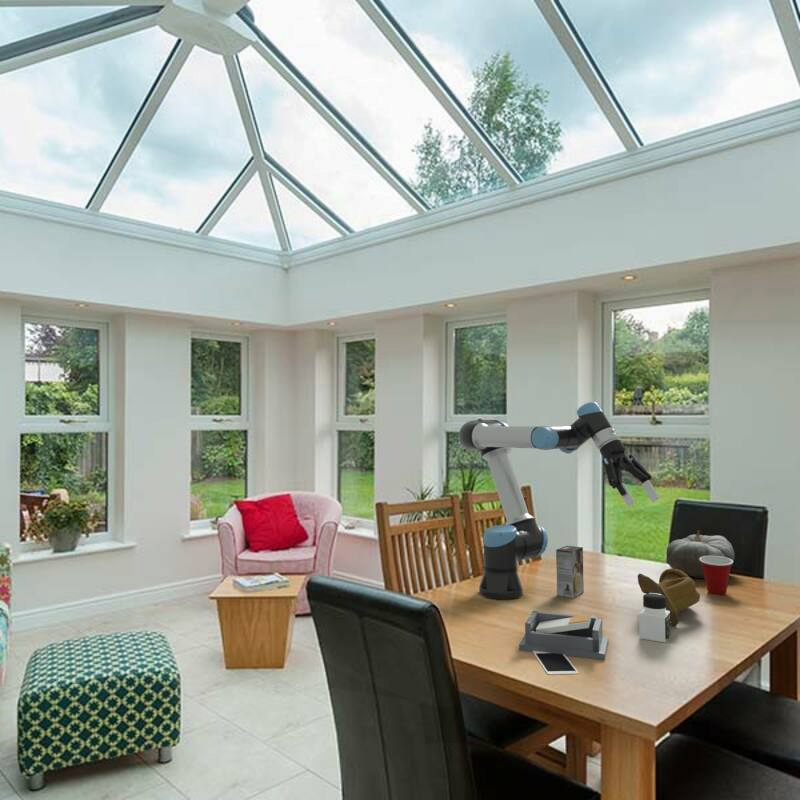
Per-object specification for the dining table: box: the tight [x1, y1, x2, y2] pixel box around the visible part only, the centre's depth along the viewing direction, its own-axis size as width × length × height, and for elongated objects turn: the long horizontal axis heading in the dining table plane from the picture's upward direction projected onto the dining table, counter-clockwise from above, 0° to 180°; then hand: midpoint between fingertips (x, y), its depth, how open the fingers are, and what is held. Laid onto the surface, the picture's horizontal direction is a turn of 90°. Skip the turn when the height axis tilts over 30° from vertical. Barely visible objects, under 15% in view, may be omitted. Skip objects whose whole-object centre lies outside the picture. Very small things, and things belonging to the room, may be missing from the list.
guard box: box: [518, 610, 609, 661], centre depth 182 cm, size 22×14×7 cm, turn 69°
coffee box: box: [555, 545, 584, 599], centre depth 235 cm, size 9×6×16 cm
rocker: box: [536, 614, 591, 633], centre depth 182 cm, size 14×7×2 cm, turn 69°
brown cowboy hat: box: [637, 568, 701, 627], centre depth 209 cm, size 23×16×28 cm
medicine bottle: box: [638, 593, 672, 644], centre depth 188 cm, size 7×7×12 cm
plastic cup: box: [699, 556, 734, 596], centre depth 234 cm, size 11×11×12 cm
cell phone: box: [532, 651, 580, 676], centre depth 170 cm, size 8×16×1 cm, turn 2°
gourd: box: [666, 530, 735, 579], centre depth 262 cm, size 25×25×17 cm
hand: (644, 502), depth 207 cm, fingers open, 13 cm apart
